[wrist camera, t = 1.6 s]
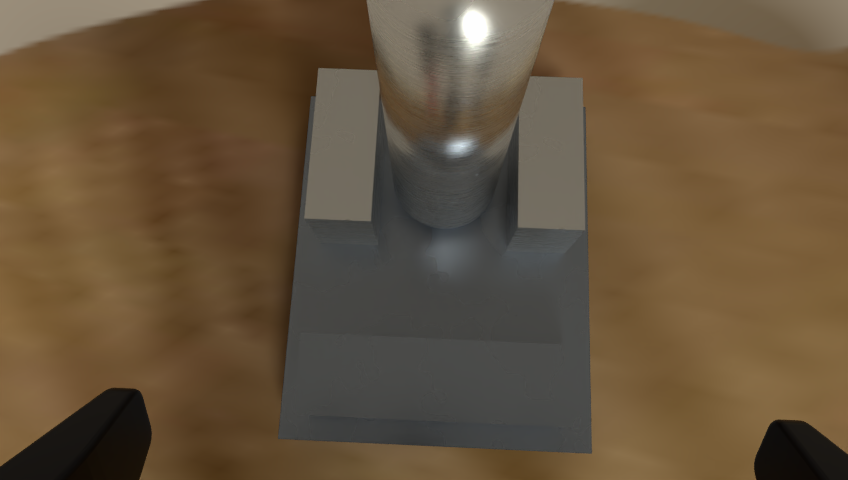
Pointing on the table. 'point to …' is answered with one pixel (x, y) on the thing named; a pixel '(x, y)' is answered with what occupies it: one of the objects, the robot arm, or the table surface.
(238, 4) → the table surface
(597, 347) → the table surface
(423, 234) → the vise
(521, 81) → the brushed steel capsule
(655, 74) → the table surface
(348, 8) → the table surface
